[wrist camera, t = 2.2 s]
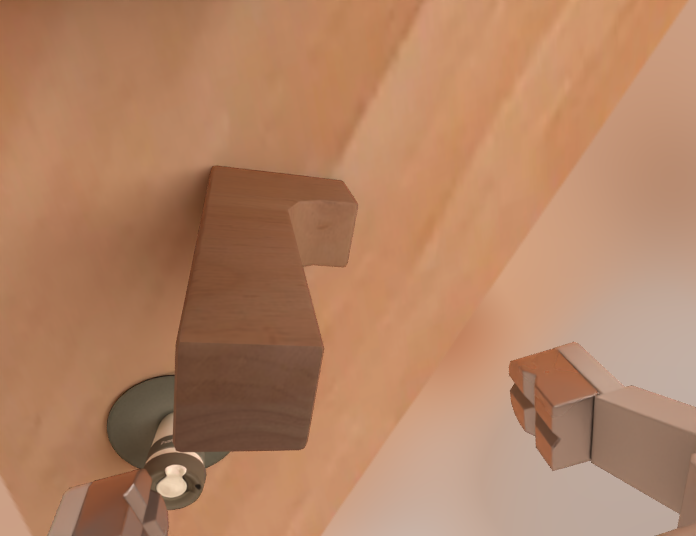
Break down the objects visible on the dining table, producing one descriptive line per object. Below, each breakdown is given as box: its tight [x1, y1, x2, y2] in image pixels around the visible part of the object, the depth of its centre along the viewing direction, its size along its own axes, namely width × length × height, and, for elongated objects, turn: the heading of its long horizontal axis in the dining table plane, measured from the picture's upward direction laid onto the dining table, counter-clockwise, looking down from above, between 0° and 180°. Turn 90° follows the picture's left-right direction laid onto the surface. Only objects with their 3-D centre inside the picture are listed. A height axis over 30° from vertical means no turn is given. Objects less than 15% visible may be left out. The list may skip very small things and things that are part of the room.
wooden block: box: [172, 166, 358, 452], centre depth 18 cm, size 7×3×15 cm, turn 80°
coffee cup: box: [107, 375, 229, 510], centre depth 28 cm, size 12×12×5 cm
